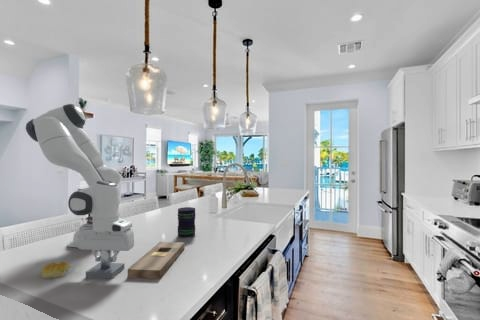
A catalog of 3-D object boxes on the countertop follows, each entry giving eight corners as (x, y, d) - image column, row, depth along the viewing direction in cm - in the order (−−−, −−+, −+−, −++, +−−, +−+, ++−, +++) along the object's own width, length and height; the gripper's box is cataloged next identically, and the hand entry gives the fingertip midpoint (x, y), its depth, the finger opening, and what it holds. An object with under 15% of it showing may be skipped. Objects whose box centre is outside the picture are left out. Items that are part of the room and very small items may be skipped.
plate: (85, 277, 88) (85, 271, 88) (99, 267, 96) (99, 262, 96) (112, 278, 88) (112, 272, 88) (124, 268, 96) (124, 263, 96)
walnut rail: (127, 277, 88) (127, 268, 88) (159, 248, 118) (160, 241, 118) (160, 278, 88) (160, 269, 88) (184, 248, 118) (184, 242, 118)
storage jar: (174, 235, 139) (174, 208, 139) (189, 231, 146) (189, 206, 146) (182, 239, 132) (183, 211, 132) (198, 235, 138) (198, 209, 138)
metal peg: (98, 269, 90) (98, 250, 90) (104, 265, 94) (104, 246, 94) (107, 269, 90) (107, 250, 90) (113, 265, 94) (113, 247, 94)
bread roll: (49, 270, 95) (49, 259, 95) (74, 268, 96) (74, 258, 96) (34, 280, 86) (34, 269, 86) (61, 278, 88) (62, 267, 88)
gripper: (73, 225, 90) (73, 263, 90) (127, 227, 88) (127, 265, 88) (85, 221, 96) (85, 257, 96) (136, 222, 95) (136, 258, 95)
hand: (105, 261), depth 92 cm, fingers open, 4 cm apart
